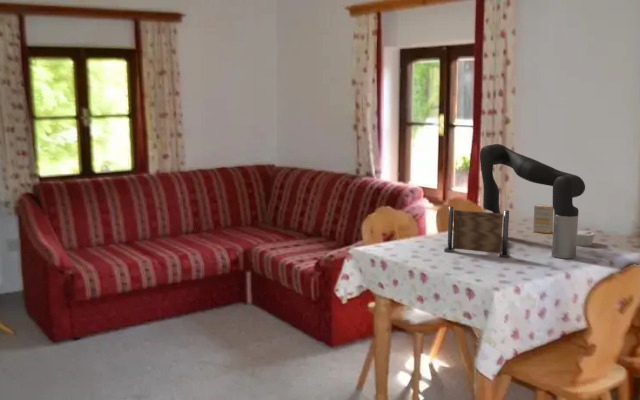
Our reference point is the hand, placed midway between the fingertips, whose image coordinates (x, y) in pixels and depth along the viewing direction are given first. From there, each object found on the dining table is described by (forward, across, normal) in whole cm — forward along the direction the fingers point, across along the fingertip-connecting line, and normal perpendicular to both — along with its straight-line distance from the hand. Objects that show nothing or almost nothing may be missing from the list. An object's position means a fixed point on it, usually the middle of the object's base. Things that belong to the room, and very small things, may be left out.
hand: (476, 235), depth 277 cm
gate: (+3, +1, +5) cm, 6 cm away
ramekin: (-35, +39, +7) cm, 53 cm away
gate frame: (+3, +1, +7) cm, 8 cm away
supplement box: (-54, +22, +7) cm, 59 cm away
